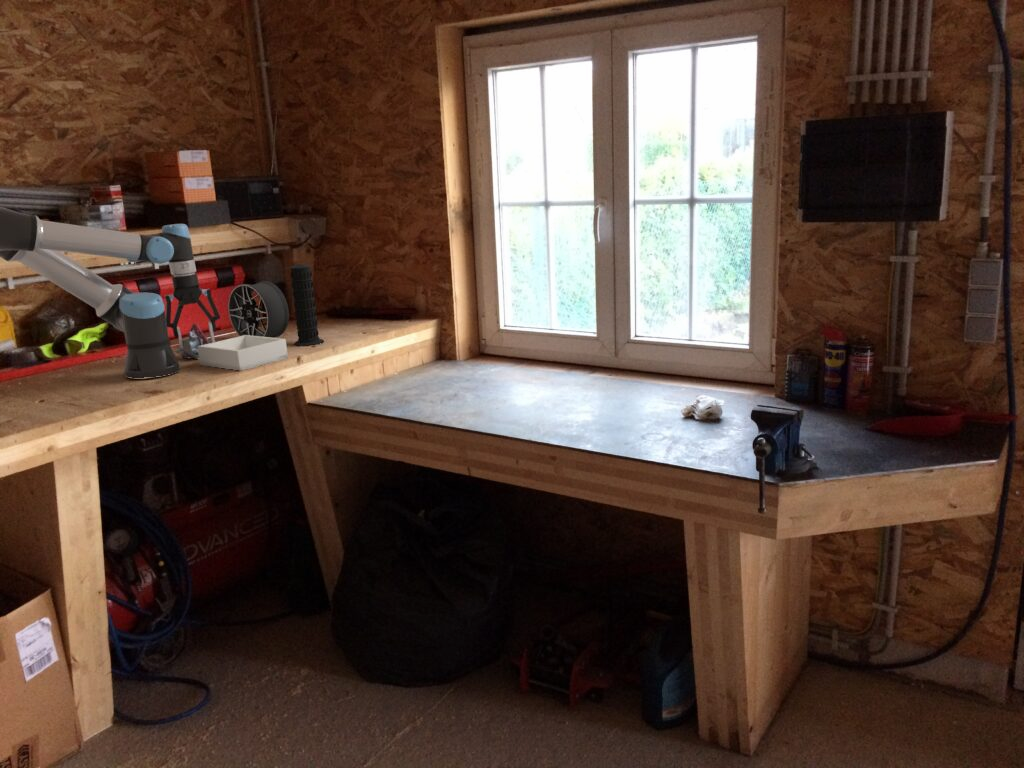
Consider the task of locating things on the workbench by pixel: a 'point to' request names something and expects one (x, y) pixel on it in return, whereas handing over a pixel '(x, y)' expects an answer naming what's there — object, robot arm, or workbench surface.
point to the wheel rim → (258, 310)
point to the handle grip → (304, 305)
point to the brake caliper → (192, 342)
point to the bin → (242, 352)
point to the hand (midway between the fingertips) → (197, 344)
